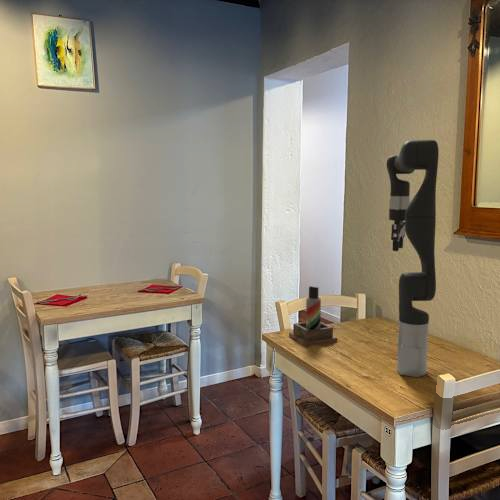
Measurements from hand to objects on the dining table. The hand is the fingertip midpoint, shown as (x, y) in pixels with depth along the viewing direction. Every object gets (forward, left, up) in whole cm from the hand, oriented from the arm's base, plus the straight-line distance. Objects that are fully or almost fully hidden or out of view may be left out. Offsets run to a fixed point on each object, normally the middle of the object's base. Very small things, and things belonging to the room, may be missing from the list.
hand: (397, 249), depth 189 cm
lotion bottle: (-15, +29, -35) cm, 48 cm away
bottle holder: (-15, +29, -36) cm, 49 cm away
